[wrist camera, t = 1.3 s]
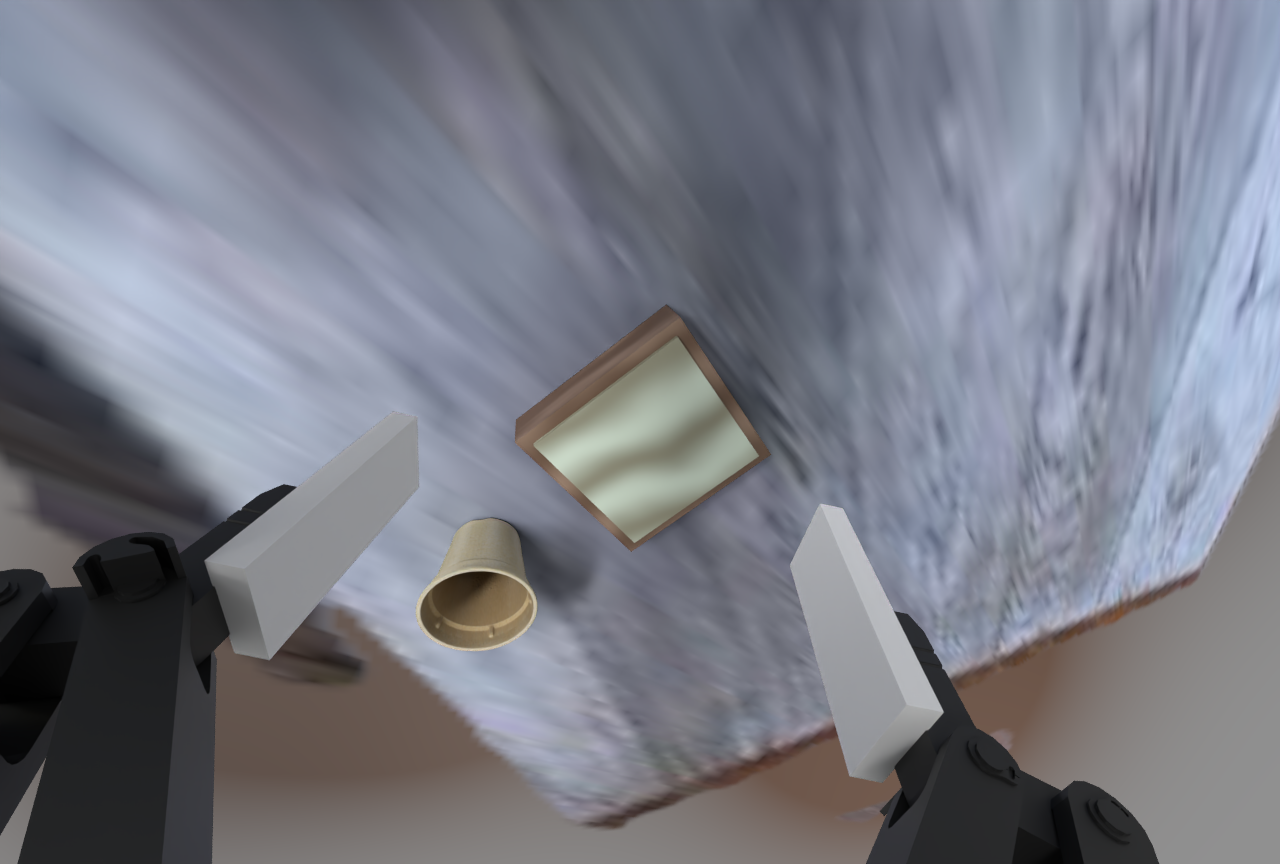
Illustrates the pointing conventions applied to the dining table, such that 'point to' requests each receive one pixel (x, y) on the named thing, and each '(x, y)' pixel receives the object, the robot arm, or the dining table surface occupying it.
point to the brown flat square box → (642, 431)
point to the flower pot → (479, 590)
